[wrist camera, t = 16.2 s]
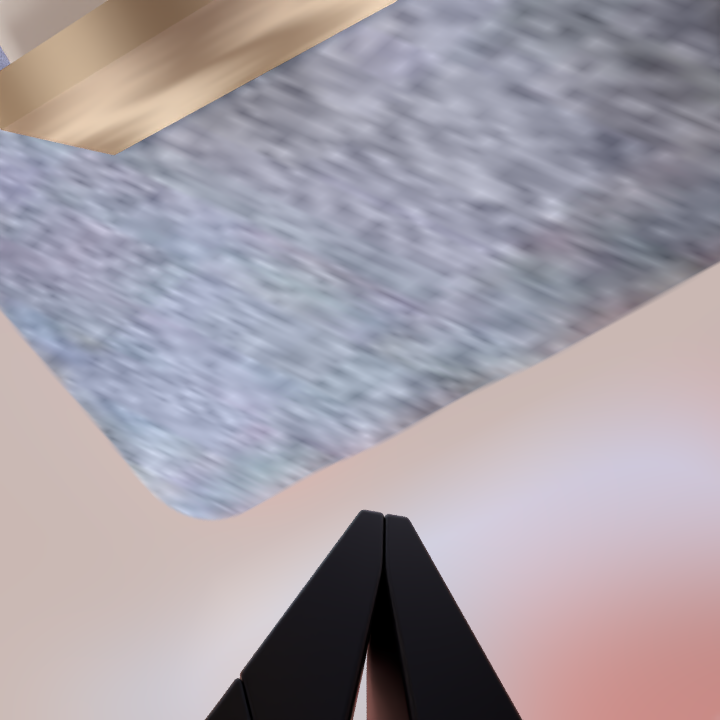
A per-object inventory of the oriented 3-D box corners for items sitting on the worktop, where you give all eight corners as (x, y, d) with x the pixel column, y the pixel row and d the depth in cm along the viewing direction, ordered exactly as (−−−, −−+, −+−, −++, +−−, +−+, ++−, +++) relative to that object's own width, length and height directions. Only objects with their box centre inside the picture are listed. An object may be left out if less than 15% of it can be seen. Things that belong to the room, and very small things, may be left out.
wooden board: (397, -46, 13) (395, -188, 9) (408, -6, 14) (413, -122, 9) (98, 125, 16) (-25, 86, 12) (114, 155, 17) (1, 130, 12)
